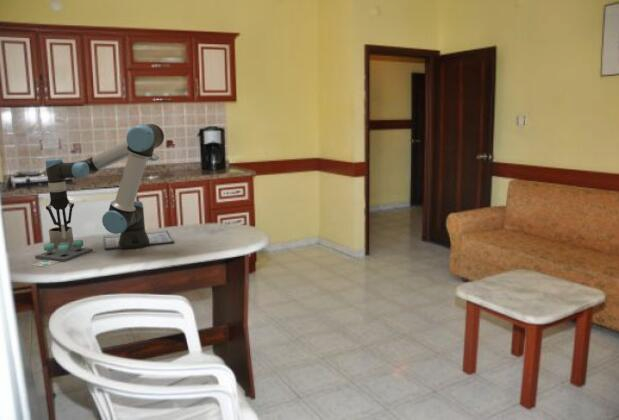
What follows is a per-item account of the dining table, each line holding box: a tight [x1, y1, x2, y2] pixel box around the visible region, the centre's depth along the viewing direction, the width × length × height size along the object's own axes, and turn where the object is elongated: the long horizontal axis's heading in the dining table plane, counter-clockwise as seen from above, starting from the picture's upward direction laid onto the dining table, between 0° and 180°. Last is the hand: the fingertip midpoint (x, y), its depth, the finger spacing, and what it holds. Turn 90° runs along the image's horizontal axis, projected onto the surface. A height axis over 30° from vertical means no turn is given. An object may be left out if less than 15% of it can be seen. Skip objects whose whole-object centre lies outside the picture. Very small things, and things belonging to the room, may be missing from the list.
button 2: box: [58, 244, 69, 254], centre depth 245 cm, size 5×5×4 cm
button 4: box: [43, 242, 55, 253], centre depth 248 cm, size 5×5×4 cm
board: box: [34, 246, 94, 263], centre depth 251 cm, size 18×18×2 cm
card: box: [31, 260, 60, 268], centre depth 238 cm, size 8×8×1 cm
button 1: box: [72, 239, 84, 249], centre depth 253 cm, size 5×5×4 cm
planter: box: [48, 225, 74, 249], centre depth 266 cm, size 11×11×10 cm
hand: (64, 237), depth 256 cm, fingers closed
